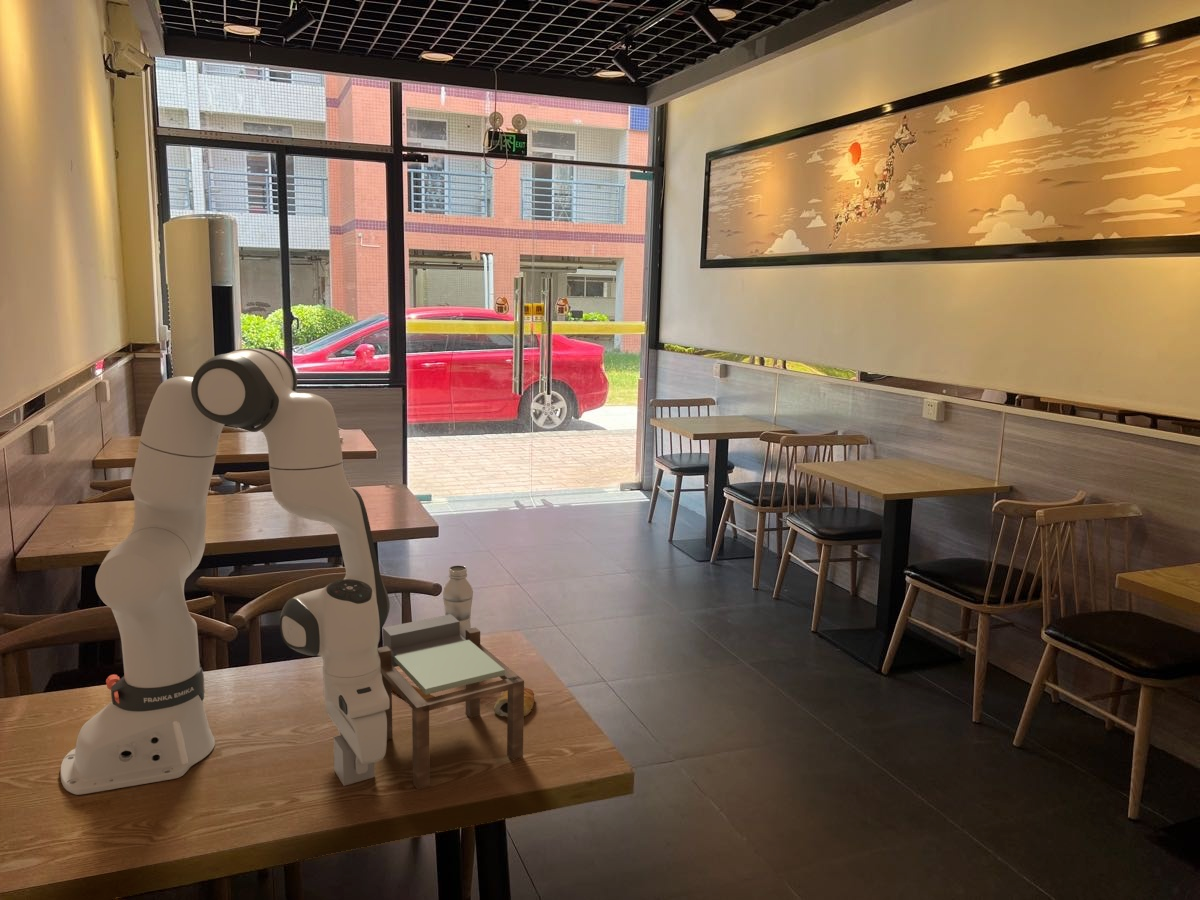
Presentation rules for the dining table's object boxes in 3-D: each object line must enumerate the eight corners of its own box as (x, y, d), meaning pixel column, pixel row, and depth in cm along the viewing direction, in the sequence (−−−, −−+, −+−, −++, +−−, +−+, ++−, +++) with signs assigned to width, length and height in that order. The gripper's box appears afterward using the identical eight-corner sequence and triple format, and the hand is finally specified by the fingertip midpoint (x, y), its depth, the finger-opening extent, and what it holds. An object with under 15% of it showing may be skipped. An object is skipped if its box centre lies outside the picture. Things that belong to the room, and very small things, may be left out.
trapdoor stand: (417, 789, 136) (416, 692, 133) (377, 736, 152) (375, 648, 149) (522, 757, 147) (524, 666, 143) (475, 710, 162) (475, 627, 159)
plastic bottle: (472, 650, 188) (472, 562, 184) (474, 663, 182) (474, 572, 178) (442, 651, 187) (441, 563, 183) (443, 665, 180) (442, 574, 176)
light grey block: (343, 786, 137) (342, 751, 136) (334, 770, 141) (333, 737, 140) (374, 777, 140) (373, 743, 138) (364, 762, 144) (363, 729, 143)
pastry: (509, 693, 169) (510, 675, 169) (542, 699, 168) (542, 681, 167) (491, 716, 160) (491, 697, 160) (525, 722, 159) (526, 703, 158)
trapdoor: (425, 709, 137) (425, 674, 136) (380, 659, 155) (380, 628, 153) (504, 689, 145) (504, 655, 144) (453, 643, 162) (453, 613, 161)
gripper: (313, 661, 144) (316, 737, 147) (352, 714, 127) (354, 798, 130) (351, 653, 147) (353, 728, 150) (393, 703, 131) (395, 786, 133)
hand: (354, 761), depth 140 cm, fingers closed on light grey block, 5 cm apart
